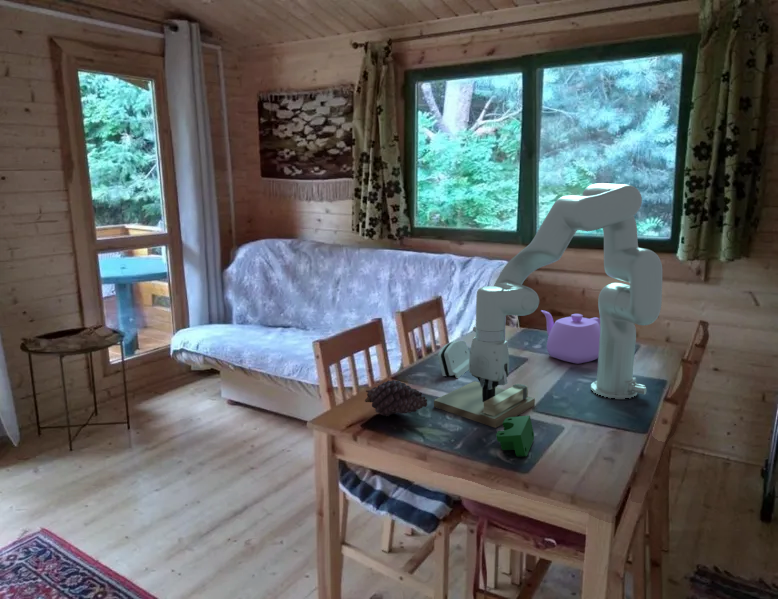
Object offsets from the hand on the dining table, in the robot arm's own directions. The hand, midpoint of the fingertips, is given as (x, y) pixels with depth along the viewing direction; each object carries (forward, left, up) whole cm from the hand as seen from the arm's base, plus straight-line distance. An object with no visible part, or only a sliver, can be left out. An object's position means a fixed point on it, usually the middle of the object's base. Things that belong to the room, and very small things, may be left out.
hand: (488, 401), depth 155 cm
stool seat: (+4, -3, -4) cm, 6 cm away
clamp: (-15, +11, -4) cm, 19 cm away
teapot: (+5, -57, -4) cm, 58 cm away
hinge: (+27, -22, -4) cm, 35 cm away
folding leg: (-3, -3, -1) cm, 5 cm away
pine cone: (+18, +18, -4) cm, 25 cm away
